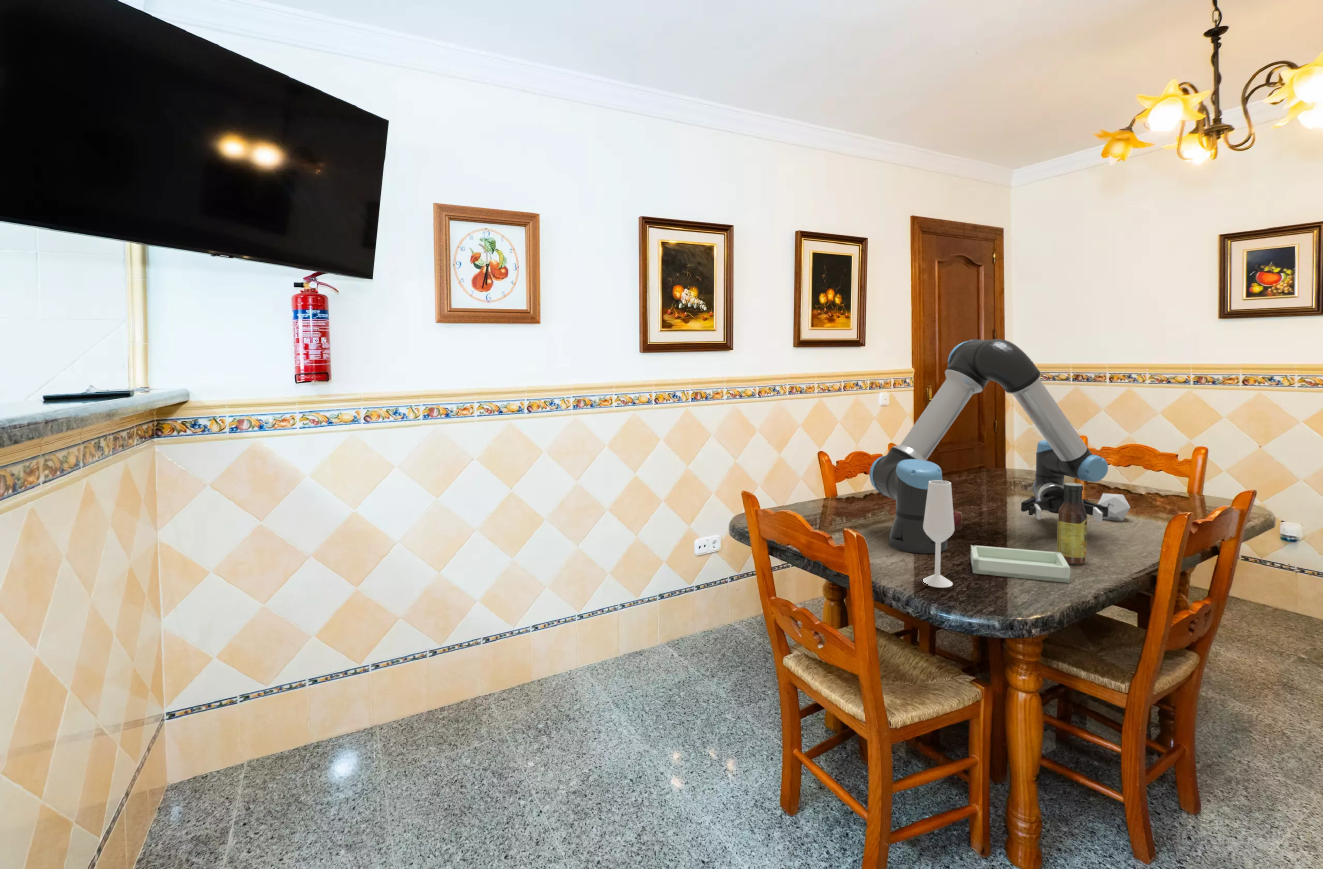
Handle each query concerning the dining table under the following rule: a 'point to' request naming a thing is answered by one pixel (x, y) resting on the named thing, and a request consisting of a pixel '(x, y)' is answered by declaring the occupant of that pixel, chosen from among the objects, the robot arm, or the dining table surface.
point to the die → (1115, 506)
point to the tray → (1020, 563)
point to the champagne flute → (938, 524)
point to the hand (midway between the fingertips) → (1069, 516)
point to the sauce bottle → (1072, 525)
